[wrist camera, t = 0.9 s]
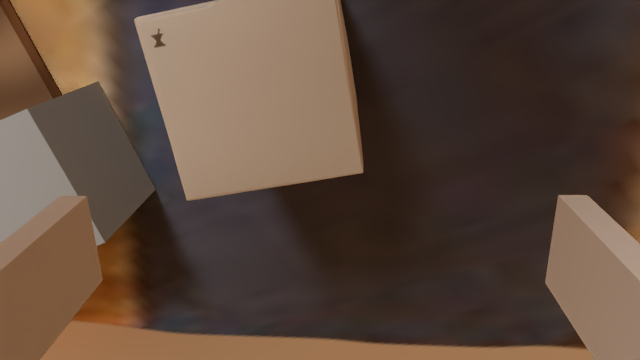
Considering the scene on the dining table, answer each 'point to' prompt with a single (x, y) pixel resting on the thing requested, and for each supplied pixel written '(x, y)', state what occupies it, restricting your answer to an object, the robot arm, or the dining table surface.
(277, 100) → the supplement box
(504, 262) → the dining table surface
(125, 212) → the tunnel
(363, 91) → the dining table surface
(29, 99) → the sled
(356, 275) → the dining table surface
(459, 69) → the dining table surface
